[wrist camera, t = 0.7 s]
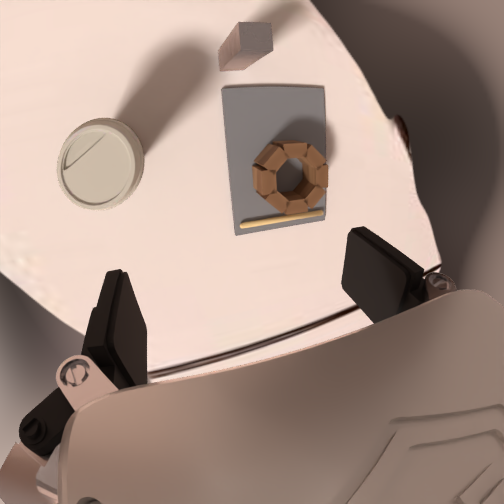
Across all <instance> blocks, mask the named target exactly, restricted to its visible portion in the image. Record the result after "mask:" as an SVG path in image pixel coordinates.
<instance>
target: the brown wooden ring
mask: <svg viewBox="0 0 504 504" xmlns="http://www.w3.org/2000/svg"><path fill="white" fill-rule="evenodd" d="M289 158H297V159H298V160H299V161H300V162H301V163H302V172H303V179H302V180H301V182H300V183H299V184H298V185H297V186H296V187H295V189H294V190H293V191H288V192H280V193H279V192H278V191H277V184H276V172H277V171H278V170H279V168H280V167H281V166H282V165H283V164H284V162H285V161H286V160H287V159H289ZM326 161H327V160H326V159H325V158H324V157H323V156H322V155H321V154H320V153H319V152H318V151H317V150H316V149H315V148H314V147H313V146H312V145H310V144H307V143H305V142H300V141H295V140H287V141H273V145H271V144H267V146H266V147H265V148H264V149H263V150H262V151H261V153H260V154H259V155H258V156H257V157H256V159H255V160H254V162H255V163H257V164H258V165H254V166H252V174H253V188H255V189H256V190H257V191H256V193H258V194H259V195H260V196H261V197H262V198H263V199H265V200H266V201H267V202H268V203H269V204H271V205H272V206H273V207H274V208H276V209H277V210H278V211H279V212H281V213H283V212H284V213H285V214H286V215H289V214H296V213H302V212H308V207H310V208H311V209H313V207H314V206H315V205H316V204H317V203H318V201H319V200H320V199H321V198H322V197H323V195H324V194H325V193H326V191H325V190H324V189H323V188H326V187H328V165H327V164H324V163H325V162H326Z"/></svg>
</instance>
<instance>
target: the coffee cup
mask: <svg viewBox="0 0 504 504" xmlns="http://www.w3.org/2000/svg"><path fill="white" fill-rule="evenodd" d="M143 170H144V152H143V148H142V145H141V142H140V140H139V138H138V137H137V135H136V134H135V132H134V131H133V130H132V129H131V128H130V127H129V126H127V125H126V124H124V123H122V122H120V121H118V120H115V119H111V118H98V119H93V120H90V121H88V122H86V123H84V124H82V125H81V126H79V127H78V128H76V129H75V130H74V131H73V132H72V133H71V134H70V135H69V136H68V138H67V139H66V141H65V142H64V144H63V146H62V148H61V151H60V154H59V157H58V162H57V177H58V181H59V184H60V187H61V189H62V191H63V193H64V194H65V195H66V197H67V198H68V199H69V200H70V201H71V202H73V203H74V204H75V205H77V206H79V207H81V208H84V209H89V210H96V211H99V210H107V209H110V208H113V207H115V206H117V205H119V204H121V203H123V202H124V201H125V200H127V199H128V198H129V197H130V196H131V195H132V194H133V192H134V191H135V190H136V188H137V186H138V185H139V183H140V180H141V178H142V175H143Z"/></svg>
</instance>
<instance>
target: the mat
mask: <svg viewBox="0 0 504 504" xmlns="http://www.w3.org/2000/svg"><path fill="white" fill-rule="evenodd" d="M221 91H222V103H223V115H224V126H225V138H226V149H227V159H228V170H229V180H230V190H231V200H232V210H233V220H234V229H235V235H236V236H237V235H243V234H248V233H254V232H259V231H265V230H271V229H276V228H282V227H288V226H293V225H299V224H305V223H311V222H317V221H323V220H325V197H326V193H325V194H324V195H323V197H322V198H321V199H320V200H319V201H318V203H317V204H316V205H315V206H314V207H313V209H311V208H310V207H308V212H302V213H296V214H289V215H286V214H285V213H284V212H283V213H281V212H279V211H278V210H277V209H276V208H274V207H273V206H272V205H271V204H269V203H268V202H267V201H266V200H265V199H263V198H262V197H261V196H260V195H259V194H258V193H256V191H257V190H256V189H255V188H253V174H252V166H254V165H258V164H257V163H255V162H254V160H255V159H256V157H257V156H258V155H259V154H260V153H261V151H262V150H263V149H264V148H265V147H266V146H267V144H271V145H273V141H287V140H295V141H300V142H305V143H307V144H310V145H312V146H313V147H314V148H315V149H316V150H317V151H318V152H319V153H320V154H321V155H322V156H323V157H324V158H325V159H326V134H325V105H324V88H308V87H240V88H225V89H221ZM324 164H326V162H325V163H324ZM302 179H303V172H302V163H301V162H300V161H299V160H298V159H297V158H289V159H287V160H286V161H285V162H284V164H283V165H282V166H281V167H280V168H279V170H278V171H277V172H276V184H277V191H278V192H279V193H280V192H288V191H293V190H294V189H295V187H296V186H297V185H298V184H299V183H300V182H301V180H302ZM323 189H324V190H325V191H326V188H323Z"/></svg>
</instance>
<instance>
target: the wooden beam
mask: <svg viewBox="0 0 504 504" xmlns="http://www.w3.org/2000/svg"><path fill="white" fill-rule="evenodd" d="M272 51H273V40H272V29H271V23H257V22H238V23H237V25H236V26H235V27H234V29H233V30H232V32H231V33H230V34H229V36H228V37H227V39H226V40H225V41H224V43H223V44H222V46H221V47H220V49H219V50H218V54H219V67H220V71H233V70H244V69H246V68H247V67H249V66H250V65H252V64H253V63H255V62H256V61H258V60H259V59H261V58H262V57H264V56H265V55H267V54H268V53H270V52H272Z"/></svg>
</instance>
